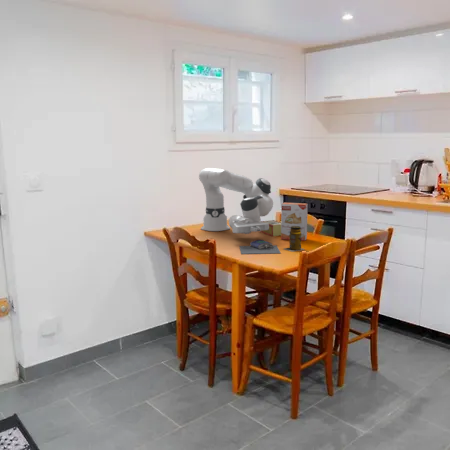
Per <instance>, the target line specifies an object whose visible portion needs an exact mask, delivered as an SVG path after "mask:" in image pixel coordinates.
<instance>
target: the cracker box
mask: <svg viewBox="0 0 450 450" xmlns="http://www.w3.org/2000/svg"><path fill="white" fill-rule="evenodd" d="M308 205H309V204H308V203H304V202H303V203H302V202H300V203H299V202H283V203H281V213H280V214H281V216H280V217H281V218H280V219H281V236H280V239H281V240H283V241H284V240H287V241H290V230H291V226H299V227H301V242H305V241H307V239H308V207H309V206H308Z"/></svg>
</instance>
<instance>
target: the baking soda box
mask: <svg viewBox="0 0 450 450" xmlns="http://www.w3.org/2000/svg"><path fill="white" fill-rule="evenodd" d="M261 222H265V223H268V224H269V229H268V230H262V231H259V232H260V233H263V234H265V235H268V236H270V237H279V236H280V237H281V222H280V221H277V220H275V219H272V220H265V221H264V220H261Z"/></svg>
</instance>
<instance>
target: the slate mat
mask: <svg viewBox="0 0 450 450" xmlns="http://www.w3.org/2000/svg"><path fill="white" fill-rule="evenodd" d="M239 251H240V254H241V255H261V254H262V255H266V254H269V255H271V254H273V255H275V254H278V255H279V254H282V253H281V251H280V249H279V247H278V246H277V244H276V245H275V244H273V247H272V248H262V249H258V248H256V247H253V246H251V245H239Z"/></svg>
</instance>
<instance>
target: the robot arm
mask: <svg viewBox="0 0 450 450" xmlns="http://www.w3.org/2000/svg"><path fill="white" fill-rule="evenodd" d="M198 178H199V181H200V182H201V184H202V187H203V189H204V194H205V202H206V203H205V204H206V205H205V215H204V216H203V220H202V221H203V226H201V227H200V230H202V231H209V232H219V231H220V232H221V231H227V230H232V233H233V234H245V235H249V234H251V233H252V232H255V233H256V232H260V231H262V230H268V229H269V224H268V223H265V222H261V221H262V220H261V217H266V216H268V215H269V214H270V213H271V211H272V210H273V207H274V206H273V205H274V201H273V198H271V197H270V196H269V195H270V194H271V193H272V191H271V188H272V186H271V183H270V182H269V181H268V180H267V179H265V178H261V177H259V178H258V179H257V180H256V181H255V183H254V182H253V180H252V179H250V178H249V177H247V176H244V175H241V174H238V173H235V172H231V171H229V170H226V169H223V168H215V167H206V168H203V169H201V170H200V172H199V174H198ZM221 188H222V189H226V190H229V191H233V192H239V193H242V194H244V195H243V196H242V198H243V199H242V201H241V202H240V203H239V204H240V208H241V212H242V216H241V215H237V214H236V215H231V216H230V218H229V219H228V216H227V215H226V214H225V210H226V209H225V207H224V206H225V205H224V203H225V202H224V201H225V199H224V198H225V197H224V194H223V192H222V190H221Z"/></svg>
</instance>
